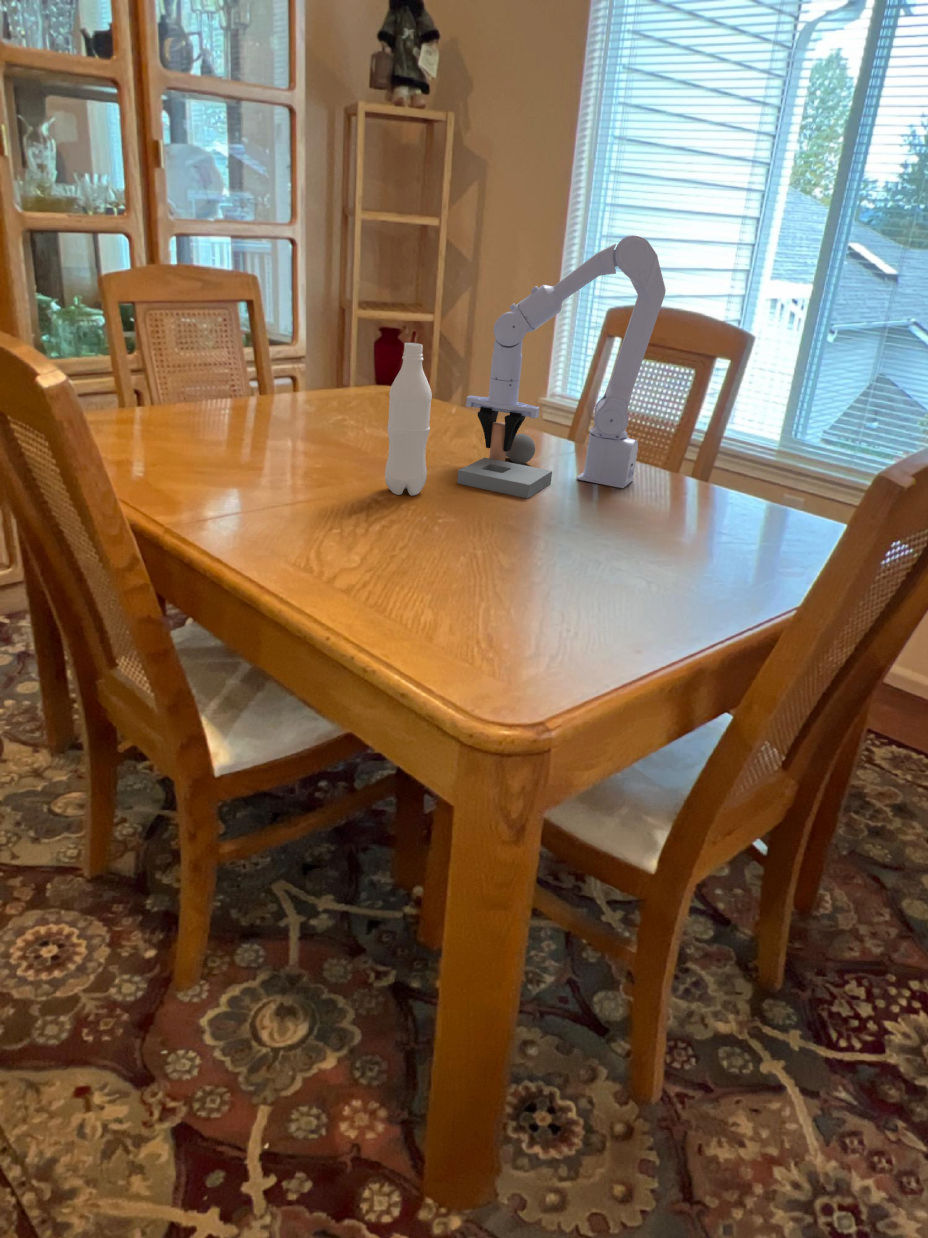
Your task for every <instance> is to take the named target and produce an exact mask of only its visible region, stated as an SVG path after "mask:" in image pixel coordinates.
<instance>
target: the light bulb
mask: <svg viewBox="0 0 928 1238" xmlns="http://www.w3.org/2000/svg"><path fill="white" fill-rule="evenodd" d="M535 454H536V444H535V441H534V440H533V438H532V437H531V436H529V435H528V434H525V433H516V435H515V438H514V440H513V443H512V447H511V450H510V451H508V452H506V457H507V458H508V459H509V460H510V461H511V462H512V463H515V464H520V465H525V464H526V463H528V462H530V461H531V460H532V459H533V457H534V456H535Z"/></svg>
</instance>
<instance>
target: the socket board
mask: <svg viewBox="0 0 928 1238" xmlns="http://www.w3.org/2000/svg"><path fill="white" fill-rule="evenodd" d="M552 478H553V471H552V470H549V469H545V468H539V467H535V466H530V465H526V464H518V463H515V462H509V461H506V460H505V461H500V460H495V459H490V458H489V457H483V458H481V459H479V460H476V461H474V462H473V463H471V464H468V465H466V466H464V467H462V468H460V469H458V470H457V481H456V483H457V484H459V485H464V486H468V487H473V488H476V489H482V490H486V491H491V492H496V493H500V494H503V495H504V494H505V495H509V496H514V497H519V498H524V499H530V498H531V497H533V496H534V495H535V494H537V493H539V492H540V491H542V490H544V489H545V488H546V487H549V486H550V485H551V484H552Z"/></svg>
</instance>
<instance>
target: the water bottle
mask: <svg viewBox="0 0 928 1238" xmlns="http://www.w3.org/2000/svg"><path fill="white" fill-rule="evenodd" d="M403 346H404V349H403V350H404V351H403V354H402V357H401V359H402V360H403V361H402V365H401V368H400V370H399V371H398V373H397V375H396V376H395V378H394V381H393V382H392V383H391V386H390V389H389V394H388V395H389V401H388V403H389V405H388V406H389V408H388V423H387V435H388V444H389V445H388V456H387V461H386V464H385V470H384V476H385V477H384V478H385V485H386V486H387V488H388V490H390V491H391V493H393V495H398V496H400V495H402V494H403V492H404V491H405V489H406V490H407V492H408V495H410V496H411V497H412V496H413V497H414V496H417V495H418V494H420V492H421V491H422V490H423V489H424V486H425V484H426V481H427V475H428V473H427V471H428V470H427V463H426V449H427V443H428V438H429V434H430V430H431V428H430V422H431V421H430V418H431V406H432V405H431V403H432V399H433V396H432V394H433V393H432V390H431V386H430V383H429V382H428V378H427V376H426V374H425V372H424V368H423V367H424V366H423V361H424V357H423V356H424V354H423V351H424V348H423V347H424V346H423V344H421V343H417V342H404V345H403Z"/></svg>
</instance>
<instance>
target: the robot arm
mask: <svg viewBox="0 0 928 1238" xmlns="http://www.w3.org/2000/svg"><path fill="white" fill-rule="evenodd" d="M660 266H661V265H660V262H659V257H658V253H657V252H656V251H655V249H654V248H653V246H652V245H651V243H650V242H649V241H648V239H646V238H645V237H643V236H642V235H637V234H631V235H628V236H625V237H623V238H622V239H620V241H619V242H618V243H616V242H615V243H613V244H611V245H609V246H607V247H606V248H604V249H601V250H600V251H598V252H597V253H595V254H594V255H592V256H591V257H590V258H588V259H587V260H586V261H585V262H583V263H582V264H580V266H578V267H576V268H575V269H574V270H573V271H572V272H571V273H569V274H568V275H566V276H565V277H564V278H563V279H561V280H560V281H559V282H557V283H556V284H554V285H553V286H552V285H547V284H542V285H541V286H539V287H538V285H535V286H533V288H531V289H530V292H531V293H530V294H529V295H527V296H526V297H525V298H523V299H522V300H521V301H519V302H518V303H517V304H516V303H513V304H511V305H510V306H509V309H510V311H507V312H503V313H502V314H500V316H499V317H498V318H497V319H496V321H495V322H494V324H493V336H494V338H495V339H494V343H493V352H492V355H491V366H490V376H489V389H488V396H476V395H468V396H466V402H465V403H466V404H465V407H466V408H477V409H479V411H478V412H477V418H478V420H479V422H480V426H481V428H482V431H483V436H484V441H485V448H486V449H490V445H491V434H492V424H493V422H497V419H498V417H499V413H505V414H507V415H505V416H504V423H505V440H504V451H505V452H508V451H510V450H511V447H512V443H513V440H514V438H515V435H516V434H518V431H519V429H520V427H521V425H522V424H523V423H524V421H525V419H526V418H527V417H529V418H530V419H537V418H539V416H540V406H535V405H532V404H527V403H524V402H520V401H519V395H520V394H519V393H520V386H521V385H520V384H521V375H522V366H523V357H524V356H523V352H522V351H523V342H524V341H523V340H524V338H525V336H526V335H527V333H529V332H530V333H533V332H534V331H536V330H537V329H539V328H540V327H541V326H543V325H544V324H546V323H547V322H549V321H550V320H552V318H554V317H555V316H557V315H558V314H560V313H561V312H562V306H563V303H564V301H565V300H566V299H567V298H569V297H571V296H572V295H573V294H575V293H576V292H578V291H579V290H581V289H582V288H583V287H585V286H587V285H588V284H589V283H591V282H592V281H594V280H596V279H597V278H599V277H600V276H606V275H607V276H608V275H615V274H617V270H616V269H617V267H618V268H619V270H620V271H621V272H622V274H623V275H625V276H626V277H627V278H629V279H630V282H631V283H632V286H633V288H634V290H635V292H636V295H637V297H636V300H635V304H634V306H633V309H632V311H631V315H630V318H629V322H628V325H627V327H626V331H625V333H624V337H623V339H622V343H621V346H620V349H619V352H618V355H617V358H616V361H615V364H614V367H613V370H612V374H611V376H610V380H609V381H608V384H607V386H606V390H605V392H604V394H603V396H602V397H601V398H600V399H599V400H598V401H597V403H596V405H595V406H594V407H595V408H594V416H593V417H594V419H593V422H594V426H593V427H591V428H590V429H589V434H588V441H587V447H586V448H587V449H586V454H585V462H584V467H583V472H581V473H580V474H578V475H577V476H576V480H578V481H579V480H580V481H585V482H589V483H595V484H599V485H603V486H608V487H612V488H613V487H614V488H620V489H624V488H625V487H627V486H628V485H629V484H630V483H632V482H633V481H634V475H635V468H636V462H637V456H638V450H639V447H638V446H639V442H638V440H637V439H634V438H630V437H628V432H627V431H626V429H627V428H628V425H629V414H628V411H629V406H630V404H631V403H630V402H631V399H632V394H633V390H634V388H635V384H636V381H637V378H638V375H639V372H640V369H641V367H642V364H643V361H644V357H645V354H646V352H647V348H648V346H649V342H650V340H651V337H652V335H653V331H654V328H655V324H656V322H657V319H658V317H659V313H660V312H661V307H662V305H663V302H664V299H665V295H666V285H665V281H664V277H663V274H662V269H661V267H660Z"/></svg>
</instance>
